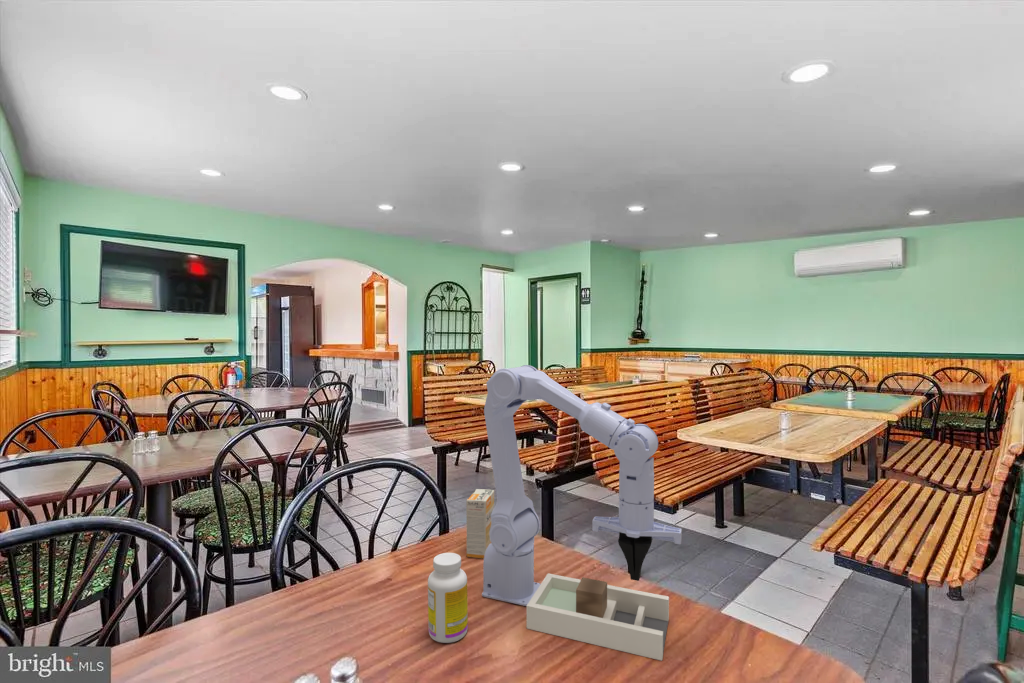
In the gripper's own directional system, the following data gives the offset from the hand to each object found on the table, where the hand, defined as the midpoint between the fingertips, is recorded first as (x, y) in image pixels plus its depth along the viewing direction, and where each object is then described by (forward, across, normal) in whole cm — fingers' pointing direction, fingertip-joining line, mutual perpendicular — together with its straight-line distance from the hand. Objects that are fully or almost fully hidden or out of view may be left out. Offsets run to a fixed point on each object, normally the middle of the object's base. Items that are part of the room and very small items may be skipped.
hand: (635, 577), depth 86 cm
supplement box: (+10, -38, +18) cm, 43 cm away
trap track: (+9, -6, 0) cm, 11 cm away
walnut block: (+7, -8, 0) cm, 11 cm away
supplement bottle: (+10, -30, -12) cm, 33 cm away
